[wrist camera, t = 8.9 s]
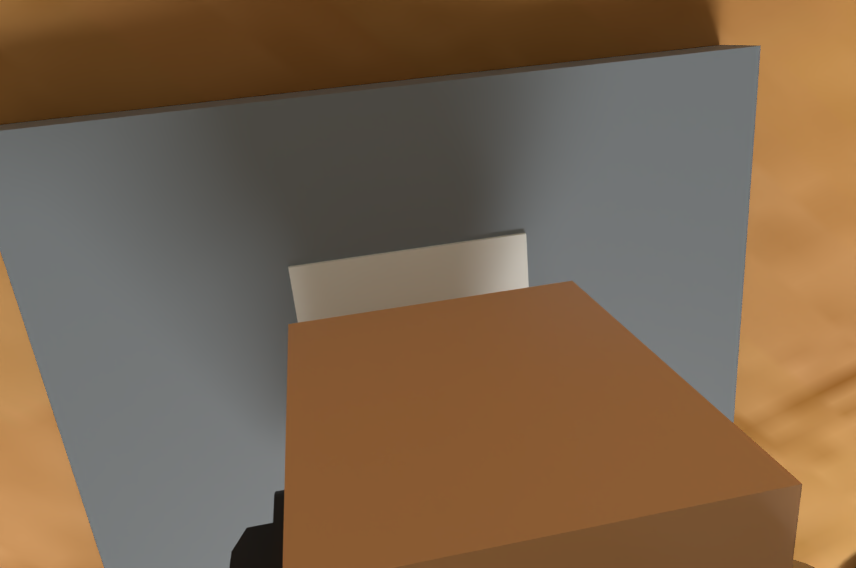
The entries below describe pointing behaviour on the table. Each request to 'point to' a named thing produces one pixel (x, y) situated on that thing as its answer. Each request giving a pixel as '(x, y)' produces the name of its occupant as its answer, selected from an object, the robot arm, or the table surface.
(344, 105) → the board
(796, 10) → the table surface
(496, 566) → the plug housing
